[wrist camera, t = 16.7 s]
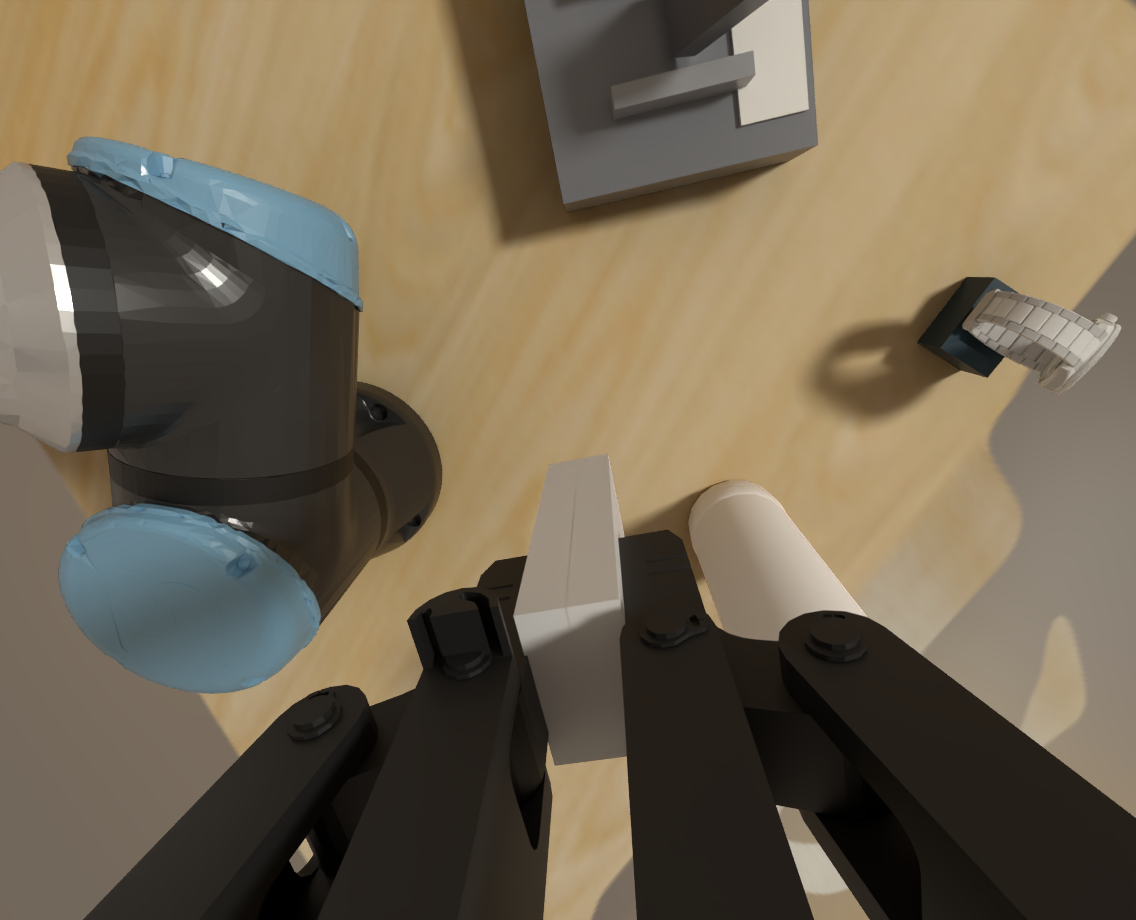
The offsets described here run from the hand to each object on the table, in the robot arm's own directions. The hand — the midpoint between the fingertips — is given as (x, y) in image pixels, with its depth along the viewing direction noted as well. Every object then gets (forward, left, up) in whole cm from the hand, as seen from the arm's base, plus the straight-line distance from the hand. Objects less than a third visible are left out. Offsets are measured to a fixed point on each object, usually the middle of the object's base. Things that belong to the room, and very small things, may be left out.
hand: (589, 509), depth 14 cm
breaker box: (+8, +18, -32) cm, 38 cm away
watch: (+28, -4, -33) cm, 43 cm away
